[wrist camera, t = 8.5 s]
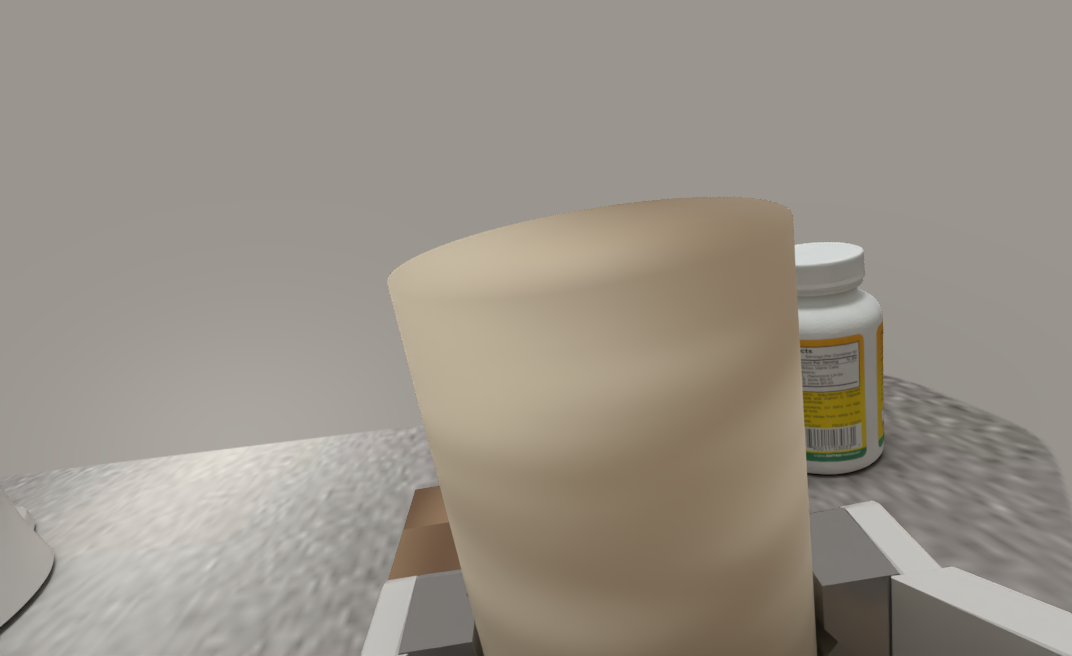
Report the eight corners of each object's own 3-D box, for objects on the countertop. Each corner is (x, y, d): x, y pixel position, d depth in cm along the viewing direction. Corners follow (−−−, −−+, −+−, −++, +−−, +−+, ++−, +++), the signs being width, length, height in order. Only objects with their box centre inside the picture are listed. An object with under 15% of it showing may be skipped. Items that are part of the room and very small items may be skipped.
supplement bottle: (832, 492, 27) (822, 275, 24) (738, 449, 32) (721, 262, 29) (911, 445, 29) (910, 241, 27) (812, 411, 34) (802, 235, 31)
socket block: (366, 796, 18) (342, 729, 17) (428, 537, 29) (415, 489, 29) (794, 731, 17) (788, 659, 17) (687, 493, 29) (680, 444, 28)
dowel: (576, 1150, 9) (340, 334, 5) (555, 817, 13) (418, 240, 9) (895, 1099, 9) (884, 234, 5) (770, 782, 13) (716, 184, 9)
